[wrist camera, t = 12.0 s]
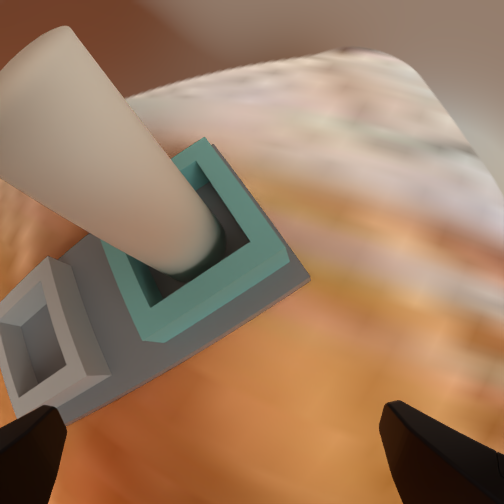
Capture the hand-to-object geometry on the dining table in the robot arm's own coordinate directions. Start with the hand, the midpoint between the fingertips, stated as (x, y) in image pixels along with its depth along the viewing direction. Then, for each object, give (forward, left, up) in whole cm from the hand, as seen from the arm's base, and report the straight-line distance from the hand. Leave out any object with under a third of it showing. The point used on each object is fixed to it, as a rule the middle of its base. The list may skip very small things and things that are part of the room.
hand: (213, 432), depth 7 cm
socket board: (+2, +11, -10) cm, 15 cm away
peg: (+7, +6, -9) cm, 13 cm away
